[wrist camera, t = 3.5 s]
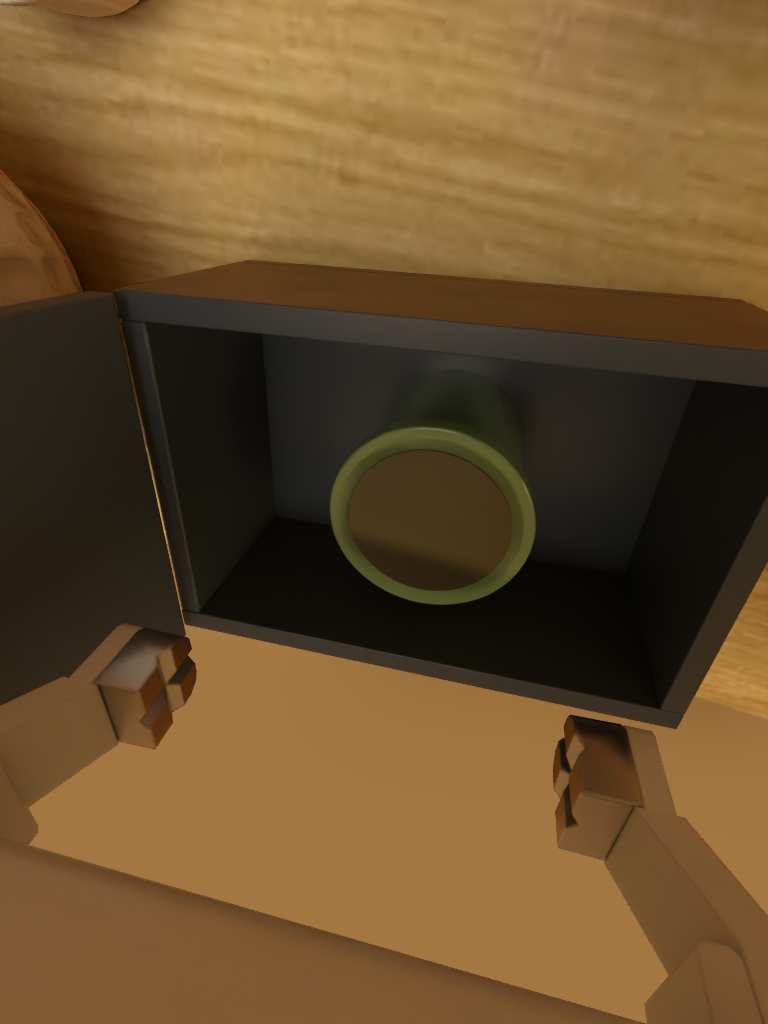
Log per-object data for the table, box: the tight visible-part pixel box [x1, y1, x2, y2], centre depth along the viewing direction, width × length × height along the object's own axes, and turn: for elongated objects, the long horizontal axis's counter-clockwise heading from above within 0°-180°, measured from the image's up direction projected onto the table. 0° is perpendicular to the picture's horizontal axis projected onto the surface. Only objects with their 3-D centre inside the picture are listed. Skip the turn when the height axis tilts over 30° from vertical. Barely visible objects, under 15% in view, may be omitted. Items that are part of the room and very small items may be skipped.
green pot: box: [329, 370, 536, 605], centre depth 19 cm, size 7×7×7 cm
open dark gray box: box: [114, 260, 768, 729], centre depth 19 cm, size 19×13×8 cm
